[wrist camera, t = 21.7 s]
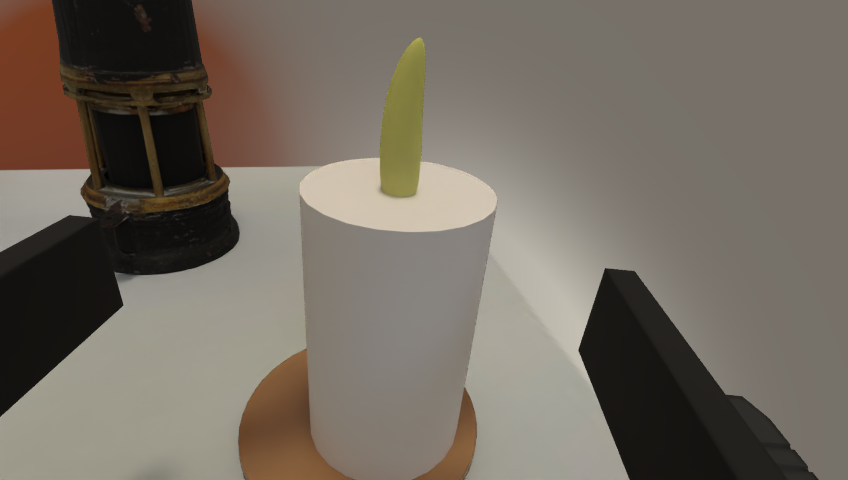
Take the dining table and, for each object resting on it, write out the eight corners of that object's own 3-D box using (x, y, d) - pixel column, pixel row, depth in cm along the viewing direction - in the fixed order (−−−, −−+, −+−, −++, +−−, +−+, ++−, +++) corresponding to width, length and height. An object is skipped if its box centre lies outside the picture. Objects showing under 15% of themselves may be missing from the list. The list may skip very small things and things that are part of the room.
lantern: (112, 290, 26) (-154, -630, 12) (81, 232, 31) (-126, -440, 17) (260, 248, 31) (198, -402, 18) (211, 205, 37) (135, -314, 23)
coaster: (523, 473, 18) (525, 465, 17) (264, 601, 13) (262, 593, 13) (412, 325, 25) (413, 318, 25) (225, 374, 21) (224, 366, 21)
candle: (423, 349, 23) (459, 33, 16) (483, 457, 18) (576, 54, 11) (299, 375, 20) (278, 18, 14) (325, 507, 15) (311, 36, 8)
